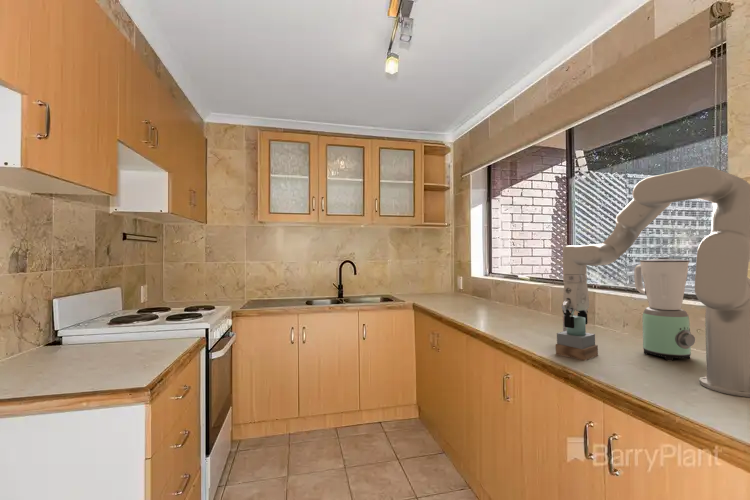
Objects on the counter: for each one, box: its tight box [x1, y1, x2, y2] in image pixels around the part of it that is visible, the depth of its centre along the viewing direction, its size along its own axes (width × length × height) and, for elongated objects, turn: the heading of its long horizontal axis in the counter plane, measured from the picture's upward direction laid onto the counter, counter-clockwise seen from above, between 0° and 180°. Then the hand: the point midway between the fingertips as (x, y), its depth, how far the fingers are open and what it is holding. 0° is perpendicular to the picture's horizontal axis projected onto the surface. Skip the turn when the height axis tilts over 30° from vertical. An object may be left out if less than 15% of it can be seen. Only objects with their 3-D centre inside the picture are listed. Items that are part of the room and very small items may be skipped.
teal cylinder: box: [567, 315, 587, 336], centre depth 127 cm, size 6×6×6 cm
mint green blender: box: [633, 256, 696, 362], centre depth 124 cm, size 19×13×35 cm
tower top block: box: [556, 331, 596, 349], centre depth 127 cm, size 9×9×4 cm
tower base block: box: [555, 343, 599, 361], centre depth 127 cm, size 10×10×4 cm
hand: (576, 325), depth 127 cm, fingers open, 9 cm apart
